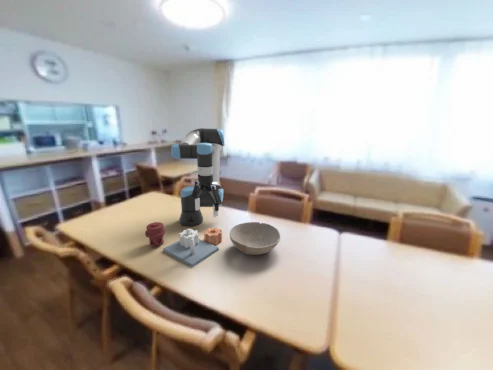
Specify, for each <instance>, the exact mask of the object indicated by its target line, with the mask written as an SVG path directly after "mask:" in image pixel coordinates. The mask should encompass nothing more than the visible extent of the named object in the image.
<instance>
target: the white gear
mask: <svg viewBox="0 0 493 370" xmlns="http://www.w3.org/2000/svg"><path fill="white" fill-rule="evenodd" d="M190 229H191V235H187V229H184V230H183V231H182V232H179V233H178V235H179V240H180V246H185V248H188V247H190V239H191V238H194V246H195V245H196V244H198V243H199V239H200V238H199V231H198V230H197V229H196V230H193V228H190Z"/></svg>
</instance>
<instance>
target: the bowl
mask: <svg viewBox="0 0 493 370" xmlns="http://www.w3.org/2000/svg"><path fill="white" fill-rule="evenodd" d="M229 238H230V241H231V243H232V245H233V246H234V247H236V249H237V250H239V251H240V252H242V253H244V254H247V255H251V256H258V255H264V254H267V253H270V252H271V251H272V250H273V249H274V248H275V247H277V245H278V243H279V242H280V241H281V233H280V231H279V229H278V228H277V227H275V226H273V225H271V224H268V223H265V222H261V223H260V222H258V221H249V222H244V223H239V224H237V225H233V227H232V228H231V229H230V231H229Z"/></svg>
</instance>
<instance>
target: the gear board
mask: <svg viewBox="0 0 493 370" xmlns="http://www.w3.org/2000/svg"><path fill="white" fill-rule="evenodd" d="M191 229H192V228H187V229H186V230H187V235H191ZM219 249H220V248H219V246H216V245H215V244H209V243H207V242H205V241H204V240H202V239H200V238H199V243H198V244H196V245H195V246H194V238H191V239H190V247H188V248H185V246H180V239H178V240H177V241H175V242H173V243H171V244H169V245H167V246H165V247H163V248H162V252H163V253H166V254H167V255H169V256H171V257H173V258H175V259H177V260H178V261H181V262H183V263H184V264H186V265H187V266H190V267H191V268H194V267H195V266H196V265H199V264H200V263H202V262H204V260H206V259H208V258H209V257H211V256H212V255H213V254H215V253H217V252H218V251H220V250H219Z"/></svg>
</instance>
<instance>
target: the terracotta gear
mask: <svg viewBox="0 0 493 370" xmlns="http://www.w3.org/2000/svg"><path fill="white" fill-rule="evenodd" d="M203 237H204V240H203V241H205V242H207V243H209V244H212V245H215V246H216V245H219V243H222V242H223V232H222V228H220V229H219V228H218V227H213V228H212V227H208V228H207V229H205V230H203Z"/></svg>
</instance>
